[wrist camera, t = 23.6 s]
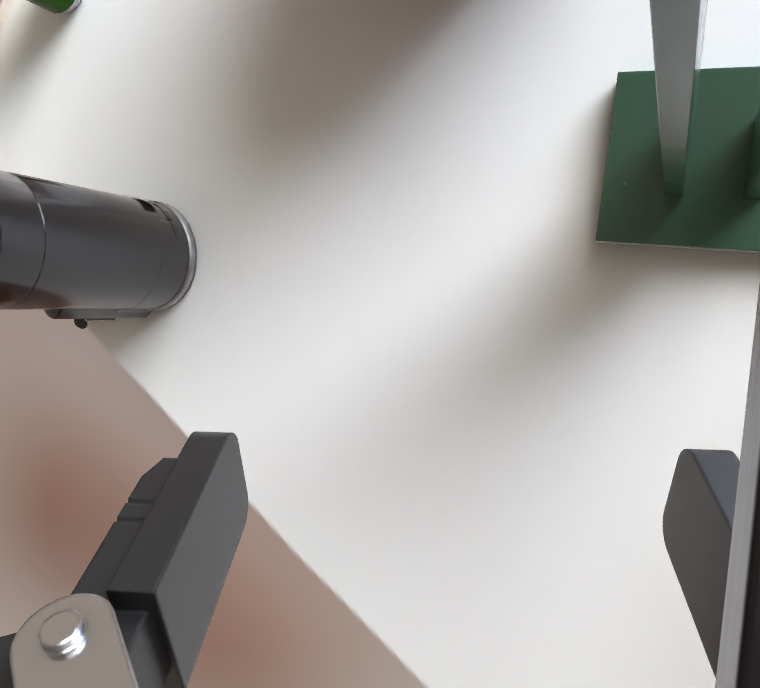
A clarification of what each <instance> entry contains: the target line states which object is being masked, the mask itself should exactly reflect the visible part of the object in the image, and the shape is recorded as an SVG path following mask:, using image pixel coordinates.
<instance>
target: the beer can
mask: <svg viewBox="0 0 760 688" xmlns="http://www.w3.org/2000/svg"><path fill="white" fill-rule="evenodd" d="M27 1H29V2H31V3H33V4H36V5H38V6H40V7H42V8H44V9H46V10H48V11H50V12H52V13H69V12H71V11H73V10H74V9H75V8H76V7H77V6H78V5H79V3H80V2H81V0H27Z"/></svg>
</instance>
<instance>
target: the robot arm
mask: <svg viewBox="0 0 760 688" xmlns="http://www.w3.org/2000/svg"><path fill="white" fill-rule="evenodd" d="M195 266H196V246H195V240H194V237H193V233H192V231H191V228H190V226H189V224H188V223H187V221H186V219H185V218H184V217H183V216H182V214H181V213H180V212H179V211H177V210H176V209H175V208H173V207H172V206H170V205H168V204H165V203H161V202H156V201H150V200H149V201H145V199H144V200H141V199H136V197H135V198H131V196H130V197H127V196H122V194H121V195H117V194H112V193H108V192H103V191H98V190H93V189H88V188H83V187H78V186H74V185H69V184H64V183H59V182H54V181H49V180H44V179H40V178H35V177H30V176H25V175H20V174H15V173H10V172H5V171H0V309H43V310H44V311H45V312H46V314H47V315H48V316H49V317H51V318H53V319H74V322H75V325H76V326H77V327H79V328H82V329H84V328H86V327H87V325H88V324H87V322H86V321H85V319H86V320H87V321H91V320H115V319H116V318H146V317H147V316H148V314H149V313H150V312H151V311H159V310H164V309H167V308H169V307H171V306H172V305H174V304H175V303H177V302H178V301H179V300H180V299H181V298H182V297H183V295H184V294H185V293H186V291H187V289H188V288H189V286H190V284H191V281H192V279H193V275H194V271H195ZM739 466H740V461H739V459H738V458H737V456H736V455H735V454H734V453H733V452H732V451H729V450H701V449H684V450H683V451H682V452H681V453H680V455H679V458H678V461H677V465H676V469H675V472H674V476H673V480H672V483H671V487H670V491H669V495H668V498H667V502H666V506H665V510H664V514H663V535H664V541H665V545H666V548H667V551H668V554H669V557H670V559H671V562H672V564H673V567H674V570H675V572H676V575H677V578H678V580H679V583H680V585H681V588H682V591H683V593H684V596H685V599H686V601H687V604H688V607H689V609H690V612H691V614H692V617H693V620H694V622H695V625H696V628H697V630H698V633H699V636H700V638H701V641H702V643H703V646H704V649H705V651H706V654H707V657H708V659H709V662H710V665H711V667H712V670H713V672H714V675H715V678H716V675H717V666H718V657H719V648H720V639H721V629H722V620H723V611H724V602H725V593H726V584H727V575H728V566H729V557H730V548H731V539H732V530H733V521H734V512H735V503H736V494H737V485H738V476H739ZM247 511H248V493H247V487H246V482H245V477H244V471H243V466H242V460H241V455H240V449H239V444H238V439H237V437H236V435H235V434H234V433H224V432H193V433H192V434H191V435H190V437H189V438H188V440H187V442H186V444H185V446H184V447H183V449H182V451H181V453H180V455H179V457H178V458H163V459H162V460H161V461H160V462H158V463H157V464H156V465H155V466H154V467H152V468H151V469H150V470H149V471H148V472H147V473H145V474H144V475H143V476H142V477H141V479H140V480H139V482H138V483H137V485H136V487H135V489H134V490H133V492H132V493H131V495H130V497H129V498H128V503H126V504H125V505H124V507H123V509H122V510H121V512H120V514H119V515H118V517H117V518H118V519H117V522H114V524H113V525H112V527H111V529H110V530H109V532H108V534H107V535H106V537H105V539H104V540H103V542H102V544H101V545H100V547H99V549H98V550H97V552H96V554H95V555H94V557H93V559H92V560H91V562H90V564H89V565H88V567H87V569H86V571H85V572H84V574H83V575H82V577H81V579H80V580H79V582H78V584H77V586H76V587H75V589H74V591H73V592H72V593H71V595H69V596H65V597H63V598H59V599H57V600H55V601H53V602H51V603H49V604H47V605H45V606H44V607H42V608H41V609H39V610H38V611H37V612H36V613H34V614H33V615H32V616H31V617H30V618H29V619H28V620H27V621H26V622H25V623H24V624H23V625H22V627H21V628H20V629H19V631H18V632H17V633H14V634H11V635H7V636H3V637H0V688H187V685H188V682H189V679H190V676H191V674H192V671H193V668H194V665H195V663H196V660H197V657H198V654H199V652H200V649H201V646H202V643H203V640H204V638H205V635H206V632H207V629H208V626H209V624H210V621H211V618H212V616H213V613H214V610H215V607H216V604H217V602H218V599H219V596H220V593H221V590H222V588H223V585H224V582H225V579H226V577H227V574H228V571H229V568H230V566H231V562H232V560H233V557H234V554H235V552H236V549H237V546H238V543H239V541H240V538H241V535H242V532H243V529H244V526H245V523H246V518H247Z"/></svg>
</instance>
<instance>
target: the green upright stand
mask: <svg viewBox="0 0 760 688" xmlns="http://www.w3.org/2000/svg"><path fill="white" fill-rule="evenodd" d="M707 3H708V0H650V11H651V25H652V38H653V51H654V65H655V71H634V72H618V76H617V84H616V91H615V99H614V106H613V114H612V121H611V129H610V136H609V144H608V151H607V159H606V166H605V174H604V181H603V188H602V196H601V203H600V211H599V218H598V226H597V233H596V241H597V242H598V243H607V244H622V245H637V246H653V247H668V248H683V249H699V250H714V251H729V252H744V253H760V67H736V68H711V69H700V65H701V56H702V47H703V38H704V29H705V21H706V12H707Z"/></svg>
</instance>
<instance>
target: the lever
mask: <svg viewBox="0 0 760 688" xmlns="http://www.w3.org/2000/svg"><path fill="white" fill-rule="evenodd" d="M715 688H760V285H759V294H758V303H757V312H756V322H755V331H754V340H753V349H752V358H751V367H750V376H749V385H748V394H747V403H746V412H745V421H744V430H743V439H742V448H741V457H740V466H739V476H738V485H737V494H736V503H735V512H734V521H733V530H732V539H731V548H730V557H729V566H728V575H727V584H726V593H725V602H724V611H723V620H722V629H721V639H720V648H719V657H718V666H717V675H716V684H715Z"/></svg>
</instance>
